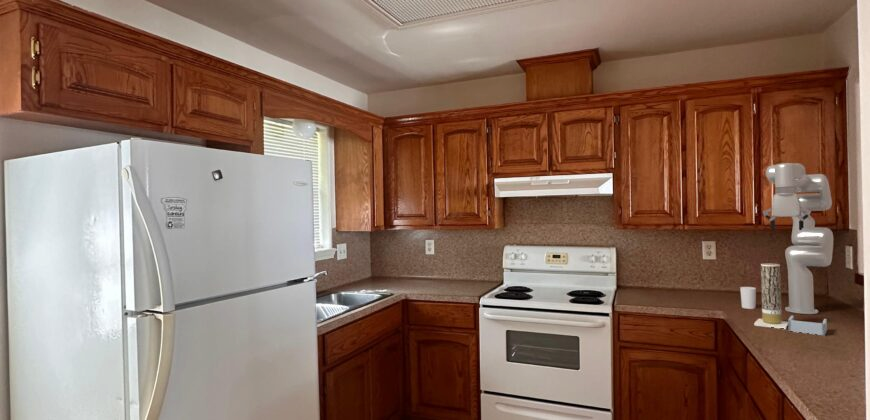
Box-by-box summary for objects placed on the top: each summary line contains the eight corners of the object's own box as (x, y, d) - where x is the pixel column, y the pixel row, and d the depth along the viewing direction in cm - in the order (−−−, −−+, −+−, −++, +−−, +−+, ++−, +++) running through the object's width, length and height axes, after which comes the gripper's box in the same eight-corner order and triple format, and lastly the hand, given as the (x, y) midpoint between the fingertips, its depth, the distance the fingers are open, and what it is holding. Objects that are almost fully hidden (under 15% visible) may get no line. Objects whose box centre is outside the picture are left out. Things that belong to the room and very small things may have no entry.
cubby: (791, 326, 203) (791, 315, 203) (826, 330, 195) (826, 319, 195) (788, 331, 195) (788, 320, 195) (825, 335, 187) (824, 324, 187)
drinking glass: (758, 309, 237) (758, 288, 237) (744, 308, 238) (743, 288, 238) (752, 306, 244) (752, 286, 244) (738, 306, 245) (737, 286, 245)
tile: (758, 320, 213) (758, 318, 213) (789, 324, 206) (789, 321, 206) (754, 325, 205) (754, 323, 205) (785, 329, 198) (785, 326, 198)
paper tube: (758, 321, 208) (756, 264, 208) (769, 319, 210) (767, 263, 210) (774, 324, 201) (772, 265, 202) (785, 323, 204) (783, 264, 204)
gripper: (811, 190, 208) (812, 229, 208) (763, 192, 220) (764, 229, 220) (809, 190, 203) (810, 230, 203) (760, 192, 215) (762, 230, 214)
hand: (786, 229), depth 211 cm, fingers open, 9 cm apart
